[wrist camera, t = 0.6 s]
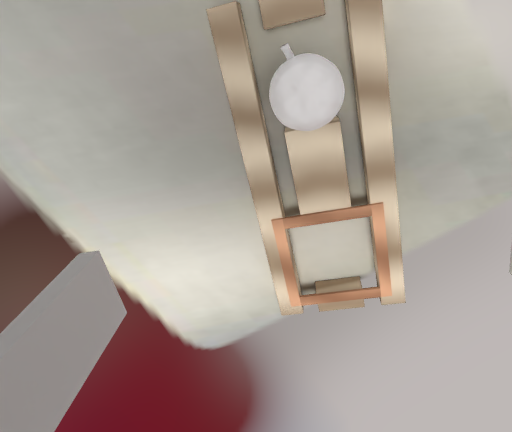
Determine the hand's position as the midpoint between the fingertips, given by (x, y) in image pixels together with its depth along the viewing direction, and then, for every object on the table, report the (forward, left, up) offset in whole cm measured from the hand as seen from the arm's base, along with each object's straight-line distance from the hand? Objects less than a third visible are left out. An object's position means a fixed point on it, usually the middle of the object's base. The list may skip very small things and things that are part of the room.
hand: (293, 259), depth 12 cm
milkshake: (-4, +1, -22) cm, 22 cm away
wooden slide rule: (+4, +1, -22) cm, 22 cm away
